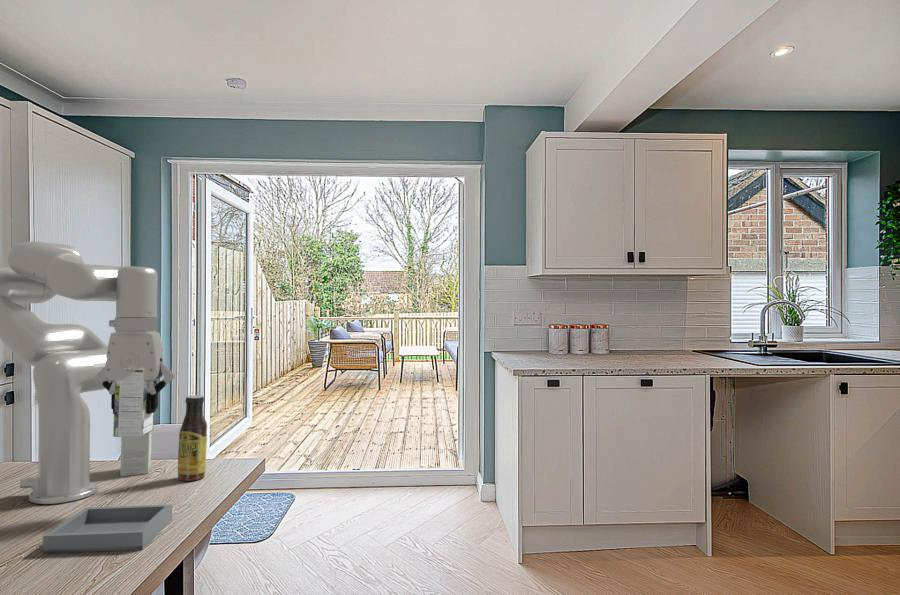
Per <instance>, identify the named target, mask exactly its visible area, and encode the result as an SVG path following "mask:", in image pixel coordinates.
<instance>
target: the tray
mask: <svg viewBox="0 0 900 595" xmlns="http://www.w3.org/2000/svg"><path fill="white" fill-rule="evenodd" d="M172 521H173V504H149V505H123V506H121V505H120V506H118V505H117V506H94V507H91V506H90V507H84V508H83V509H81V510H79V511H78V512H77V513H75V514H74V515H72V516H70V517H69V518H67V519H66V520H64V521H63V522H62V523H61V524H59V525H57V526H55V528H53V529H52V530H50V531H49V532H47V533H46V534H44V535H42V554H43V555H52V554H78V553H97V552H101V553H102V552H120V551H121V552H122V551H124V552H125V551H140V550H141V551H143V550H144V549H145V548H146V547H147V546H149V544H150V543H151V542H152V541H153V540H154V539H155V538H156V537H157V536H158V535H159V534H160V533H161V532H163V530H164V529H165V528H166V526H168V525H169V524H170V523H171V522H172Z"/></svg>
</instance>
